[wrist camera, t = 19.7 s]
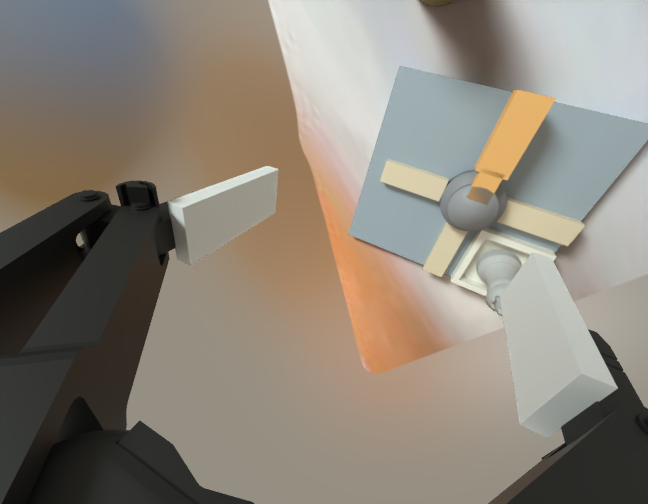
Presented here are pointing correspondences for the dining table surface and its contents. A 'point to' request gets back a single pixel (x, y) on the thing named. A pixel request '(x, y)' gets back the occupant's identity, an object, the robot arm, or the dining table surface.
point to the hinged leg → (498, 159)
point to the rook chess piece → (497, 274)
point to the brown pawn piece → (436, 2)
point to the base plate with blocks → (459, 170)
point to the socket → (487, 242)
